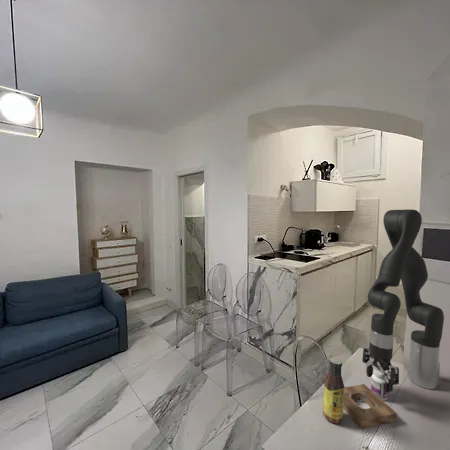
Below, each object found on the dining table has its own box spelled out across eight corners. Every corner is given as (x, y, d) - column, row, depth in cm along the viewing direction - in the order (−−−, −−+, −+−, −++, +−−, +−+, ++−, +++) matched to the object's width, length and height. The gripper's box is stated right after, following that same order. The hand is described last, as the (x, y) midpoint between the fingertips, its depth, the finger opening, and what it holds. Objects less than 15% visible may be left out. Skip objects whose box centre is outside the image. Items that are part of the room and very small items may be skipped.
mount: (363, 391, 94) (364, 384, 94) (396, 421, 80) (396, 413, 80) (332, 396, 91) (333, 389, 91) (361, 429, 77) (361, 420, 77)
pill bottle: (382, 391, 94) (383, 367, 94) (390, 401, 89) (391, 376, 88) (368, 390, 95) (369, 366, 94) (375, 400, 89) (376, 375, 89)
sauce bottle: (334, 427, 78) (336, 368, 77) (318, 413, 83) (320, 358, 82) (347, 420, 81) (349, 363, 80) (331, 406, 86) (333, 353, 85)
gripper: (406, 352, 85) (403, 396, 85) (373, 332, 99) (371, 370, 99) (389, 354, 83) (386, 399, 84) (358, 334, 97) (356, 372, 98)
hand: (378, 383), depth 92 cm, fingers open, 8 cm apart
